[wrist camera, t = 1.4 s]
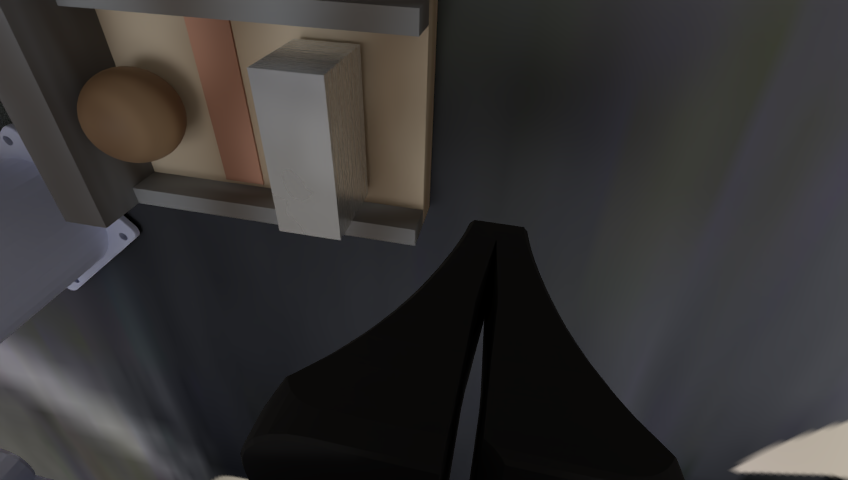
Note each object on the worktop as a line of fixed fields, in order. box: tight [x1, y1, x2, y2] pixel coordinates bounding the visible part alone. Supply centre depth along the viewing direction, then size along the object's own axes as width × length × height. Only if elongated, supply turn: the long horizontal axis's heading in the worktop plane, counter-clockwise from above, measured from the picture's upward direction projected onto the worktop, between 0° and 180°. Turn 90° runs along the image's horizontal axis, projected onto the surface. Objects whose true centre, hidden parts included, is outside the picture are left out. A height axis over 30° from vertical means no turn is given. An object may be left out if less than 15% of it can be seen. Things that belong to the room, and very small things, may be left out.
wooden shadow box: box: [0, 0, 438, 246], centre depth 18 cm, size 15×9×5 cm, turn 90°
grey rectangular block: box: [247, 39, 368, 240], centre depth 17 cm, size 2×6×3 cm, turn 179°
